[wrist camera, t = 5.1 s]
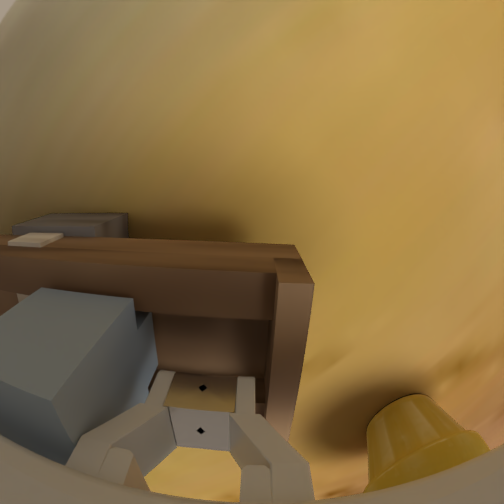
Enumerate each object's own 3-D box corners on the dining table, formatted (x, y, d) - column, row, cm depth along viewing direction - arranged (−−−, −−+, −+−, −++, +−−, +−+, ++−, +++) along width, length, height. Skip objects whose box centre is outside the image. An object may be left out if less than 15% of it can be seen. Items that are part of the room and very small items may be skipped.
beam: (-21, 216, 16) (-95, 242, 8) (285, 217, 16) (316, 266, 8) (-5, 306, 18) (-65, 351, 10) (275, 344, 18) (286, 448, 10)
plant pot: (347, 465, 23) (366, 543, 13) (340, 402, 20) (372, 507, 10) (439, 430, 22) (474, 495, 12) (454, 359, 19) (515, 434, 10)
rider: (63, 273, 10) (-49, 353, 4) (148, 280, 10) (51, 400, 4) (85, 370, 12) (20, 467, 5) (161, 384, 12) (116, 508, 5)
